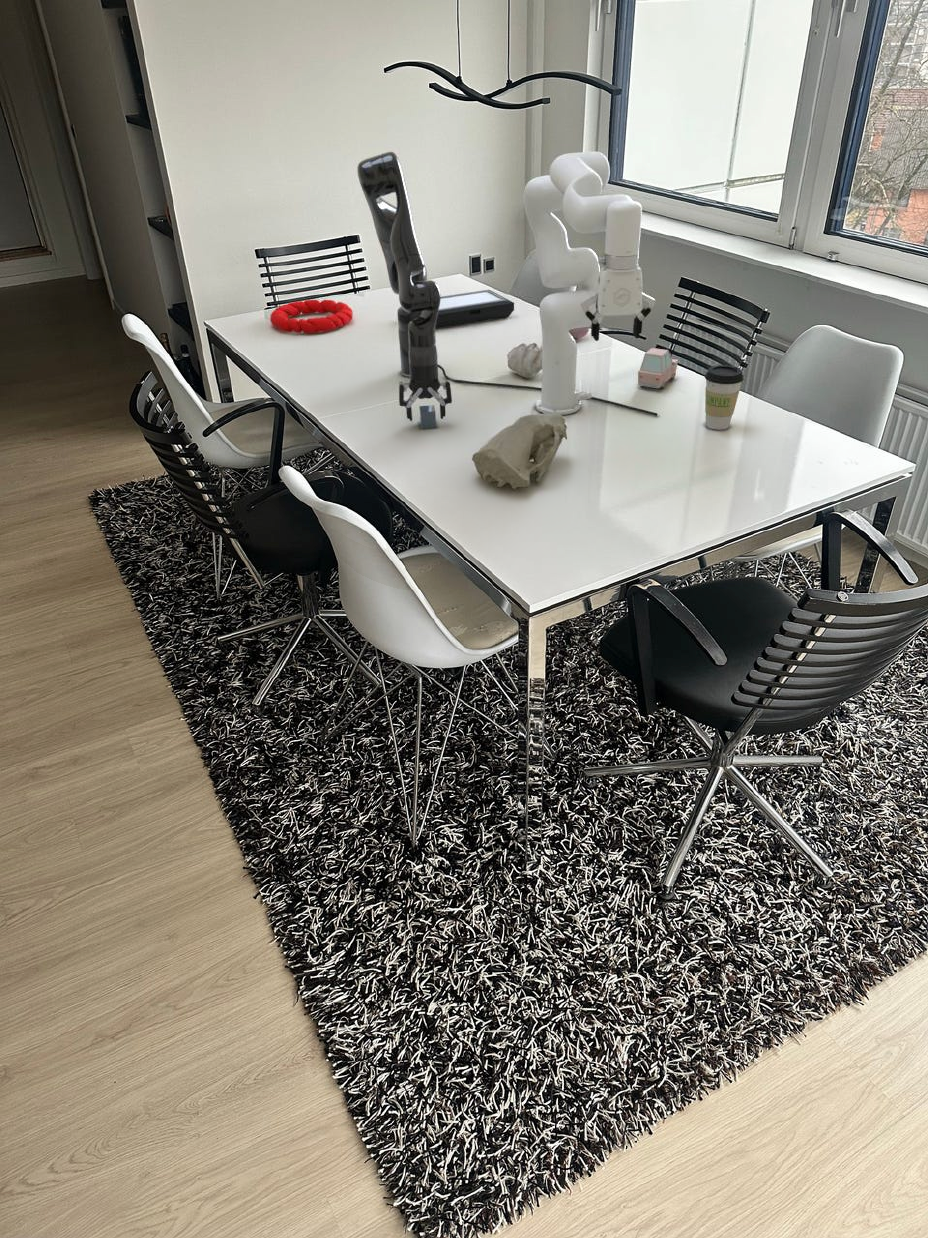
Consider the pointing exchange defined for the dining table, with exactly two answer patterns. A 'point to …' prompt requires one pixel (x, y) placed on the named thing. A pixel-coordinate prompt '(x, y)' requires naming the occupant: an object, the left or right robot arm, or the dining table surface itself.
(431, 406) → the block
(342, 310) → the decorative ring
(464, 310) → the electronic device
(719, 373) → the coffee cup
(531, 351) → the seashell
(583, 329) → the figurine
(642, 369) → the toy car
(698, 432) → the dining table surface
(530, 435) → the animal skull
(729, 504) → the dining table surface
